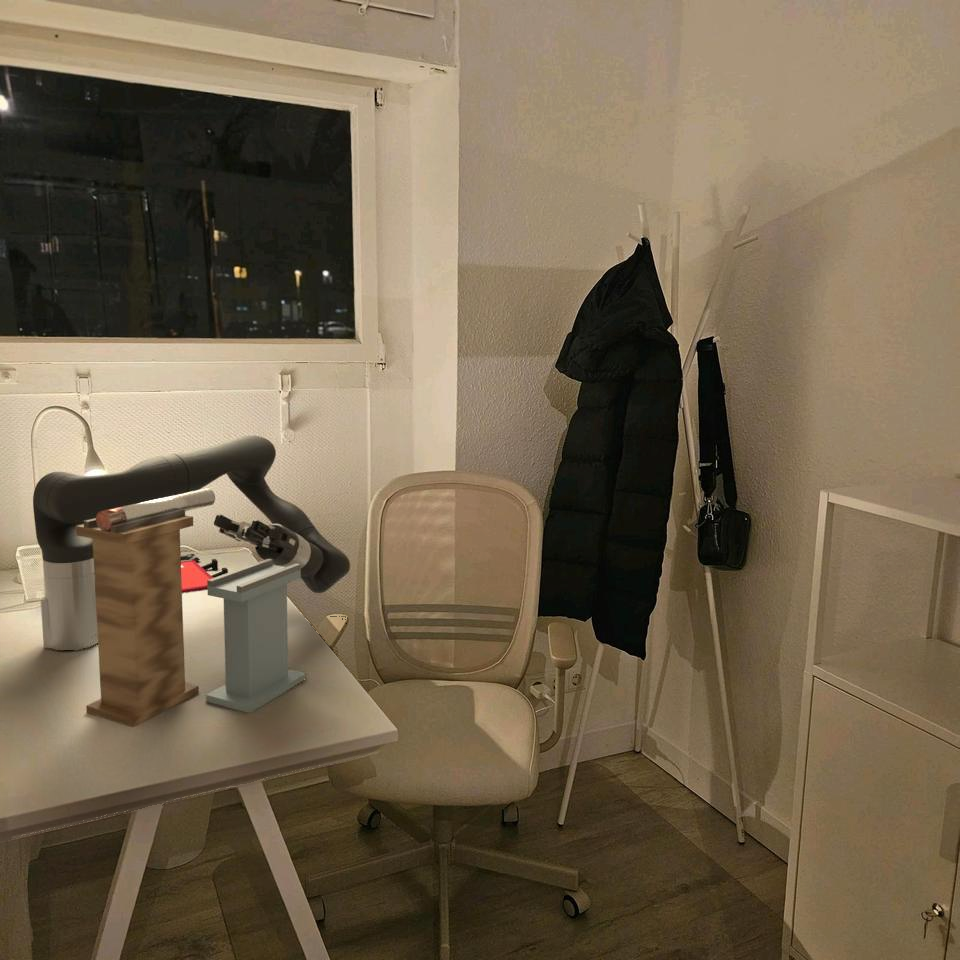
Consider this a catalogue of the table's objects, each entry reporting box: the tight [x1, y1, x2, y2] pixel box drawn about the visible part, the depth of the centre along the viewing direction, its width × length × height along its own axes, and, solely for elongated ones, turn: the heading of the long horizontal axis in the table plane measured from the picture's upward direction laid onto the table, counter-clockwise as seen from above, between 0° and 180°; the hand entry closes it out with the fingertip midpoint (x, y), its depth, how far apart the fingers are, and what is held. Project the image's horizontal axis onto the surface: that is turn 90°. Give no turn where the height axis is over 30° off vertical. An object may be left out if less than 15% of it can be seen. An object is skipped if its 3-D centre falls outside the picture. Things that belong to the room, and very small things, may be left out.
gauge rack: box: [205, 559, 307, 714], centre depth 140 cm, size 15×9×21 cm, turn 155°
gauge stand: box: [76, 509, 199, 728], centre depth 133 cm, size 14×10×32 cm
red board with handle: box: [181, 553, 229, 594], centre depth 207 cm, size 30×3×15 cm
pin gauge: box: [96, 487, 216, 531], centre depth 133 cm, size 22×3×3 cm
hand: (234, 522), depth 151 cm, fingers open, 8 cm apart
